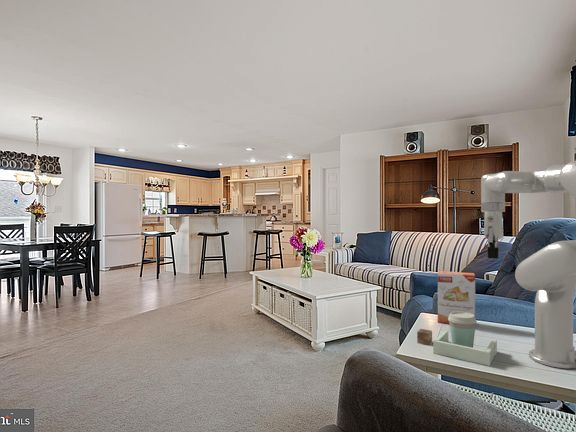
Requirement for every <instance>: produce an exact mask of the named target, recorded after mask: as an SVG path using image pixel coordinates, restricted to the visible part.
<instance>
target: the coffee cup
mask: <svg viewBox="0 0 576 432" xmlns="http://www.w3.org/2000/svg"><path fill="white" fill-rule="evenodd" d="M448 320H449V323H448V324H449V329H450V335H451V336H450V337H451V341H452V342H451V343H452V344H457V345H462V346H467V347H471V348H474V345H475V333H476V324H477V319H476V315H475V316H474V315H473V314H471V313H468V312H451V313H450V314H449V317H448Z"/></svg>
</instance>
